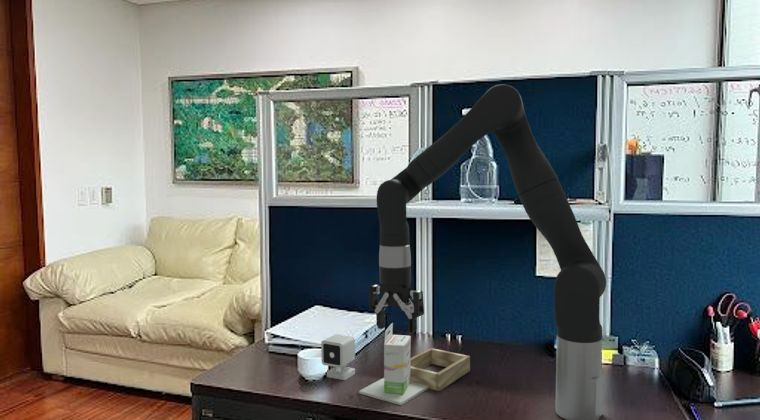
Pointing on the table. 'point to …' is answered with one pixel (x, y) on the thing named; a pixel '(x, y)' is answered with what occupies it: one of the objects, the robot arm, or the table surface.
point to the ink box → (396, 362)
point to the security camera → (338, 355)
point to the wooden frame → (452, 361)
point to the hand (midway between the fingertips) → (396, 330)
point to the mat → (378, 392)
